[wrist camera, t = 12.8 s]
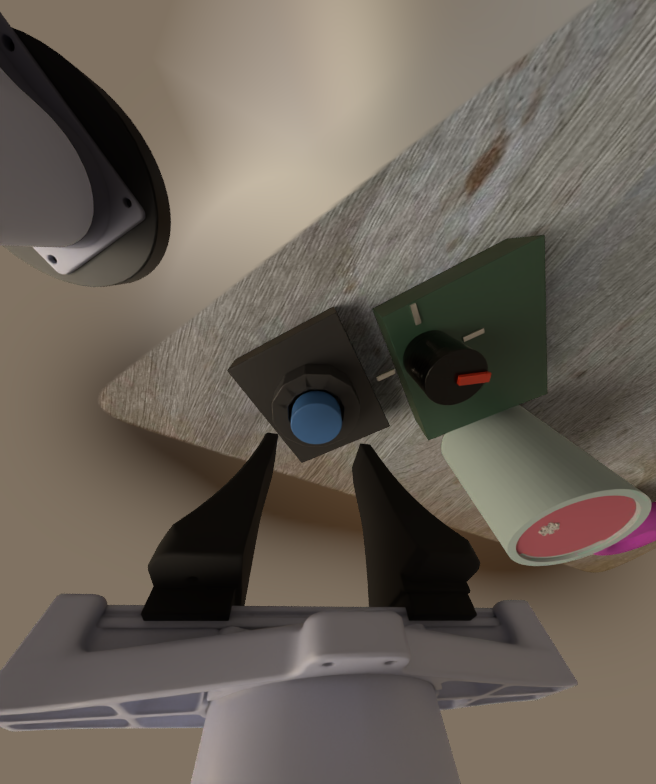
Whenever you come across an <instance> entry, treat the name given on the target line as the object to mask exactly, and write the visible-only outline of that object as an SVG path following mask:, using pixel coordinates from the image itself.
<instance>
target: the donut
mask: <svg viewBox="0 0 656 784" xmlns="http://www.w3.org/2000/svg"><path fill="white" fill-rule="evenodd" d="M651 504H652V505H651V510H650V513H649V515H648V516H647V518H646V519H645V520H644V522H643V523H642V524H641V525H640V526H639V527H638V528H637V529H636V530H634V531H633V532H632V533H630V534H629V535H628V536H626V537H625V538H623V539H622V540H620V541H618V542H617V543H615V544H613V545H611V546H609V547H607V548H605V549H603V550H601V551H599V552H596V553H594V554H595V555H613V554H619V553H623V552H627V551H630V550H633V549H636V548H639V547H642V546H644V545H647V544H649V543H651V542H653V541H656V502H655V501H654V503H653V502H651Z"/></svg>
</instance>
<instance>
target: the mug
mask: <svg viewBox="0 0 656 784" xmlns="http://www.w3.org/2000/svg"><path fill="white" fill-rule="evenodd" d="M441 451H442V455H443V457H444V458H445V460H446V462H447V463H448V465H449V466H450V468H451V469H452V471H453V472H454V474H455V475H456V477H457V478H458V480H459V481H460V483H461V484H462V486H463V487H464V489H465V490H466V492H467V493H468V495H469V496H470V498H471V499H472V501H473V502H474V504H475V505H476V507H477V508H478V510H479V511H480V513H481V514H482V516H483V517H484V519H485V521H486V522H487V524H488V525H489V527H490V528H491V530H492V531H493V533H494V534H495V536H496V537H497V539H498V540H499V542H500V543H501V545H502V546H503V548H504V549H505V551H506V552H507V554H508V555H509V557H510V558H511V559H512V560H513V561H515V562H517V563H520V564H523V565H530V566H545V565H554V564H560V563H565V562H569V561H573V560H576V559H580V558H583V557H586V556H589V555H591V554H594V553H596V552H599V551H601V550H603V549H605V548H607V547H609V546H611V545H613V544H615V543H617V542H618V541H620V540H622V539H623V538H625V537H626V536H628V535H629V534H630V533H632V532H633V531H634V530H636V529H637V528H638V527H639V526H640V525H641V524H642V523H643V522H644V520H645V519H646V518H647V516H648V515H649V513H650V510H651V505H652V504H651V500H650V498H649V497H648V496H647V495H646V494H644V493H643V492H641V491H640V490H639V489H637V488H636V487H634V486H633V485H632V484H630V483H629V482H627V481H626V480H625V479H623V478H622V477H620V476H619V475H617V474H616V473H615V472H613V471H612V470H610V469H609V468H608V467H606V466H605V465H603V464H602V463H601V462H599V461H598V460H596V459H595V458H593V457H592V456H591V455H589V454H588V453H586V452H585V451H584V450H582V449H581V448H579V447H578V446H577V445H575V444H574V443H572V442H571V441H570V440H568V439H567V438H565V437H564V436H562V435H561V434H560V433H558V432H557V431H555V430H554V429H553V428H551V427H550V426H548V425H547V424H546V423H544V422H543V421H541V420H540V419H538V418H537V417H536V416H534V415H533V414H531V413H530V412H529V411H527V410H526V409H524V408H523V407H522V406H520V405H517V406H514V407H512V408H509V409H507V410H504V411H502V412H499V413H497V414H494V415H492V416H489V417H486V418H484V419H481V420H479V421H476V422H474V423H471V424H469V425H466V426H464V427H461V428H458V429H456V430H453V431H451V432H448V433H446V434H445V435H444V437H443V440H442V444H441Z"/></svg>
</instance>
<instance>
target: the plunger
mask: <svg viewBox="0 0 656 784" xmlns="http://www.w3.org/2000/svg"><path fill="white" fill-rule="evenodd" d="M341 428H342V417H341V412H340V406H339V404H338V402H337V400H336V399H335V398H334V397H333V396H332V395H330V394H328V393H326V392H323V391H310V392H307V393H304V394H303V395H301V396H300V397H299V398H298V399H297V400H296V401H295V403H294V405H293V408H292V415H291V429H292V431H293V433H294V435H295V436H296V437H297V438H298V439H300V440H301V441H303V442H306V443H309V444H323V443H326V442H329V441H331V440H332V439H334V438H335V437H336V436H337V435H338V434H339V432H340V430H341Z"/></svg>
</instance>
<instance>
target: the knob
mask: <svg viewBox="0 0 656 784" xmlns="http://www.w3.org/2000/svg"><path fill="white" fill-rule="evenodd" d="M403 365H404V368H405V370H406V371H407V373H408V374H409V375H410V376H411V377H412V379H413V380H414V381H415V382H416V383H417V385H418V386H419V387H420V388H421V389H422V391H423V392H424V393H425V394H426V395H427V397H428V398H429V399H430V400H431V401H433V402H434V403H437V404H440V405H447V406H448V405H456V404H459V403H462V402H464V401H466V400H468V399H469V398H471V397H472V396H474V395H475V394H476V393H477V392H478V391H479V390H480V389H481V387H482V386H483V384H484V383H485V382H489V381H490V378H491V373H490V372H489V371H488V364H487V361H486V359H485V357H484V356H483V355H482V354H481V353H479V352H478V351H476V350H474V349H472V348H470V347H469V346H467V345H465V344H463V343H462V342H460V341H458V340H456V339H455V338H453V337H451V336H449V335H447V334H446V333H444V332H441V331H435V330H434V331H427V332H424V333H422V334H420V335H418V336H416V337H415V338H414V339H413V340H412V341H411V342H410V343H409V344H408V346H407V348H406V349H405V352H404V356H403Z"/></svg>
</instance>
